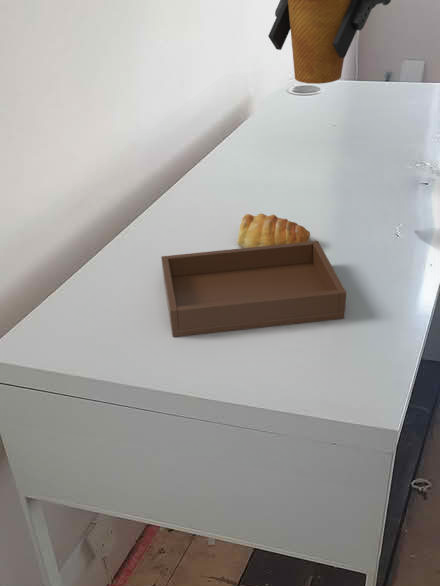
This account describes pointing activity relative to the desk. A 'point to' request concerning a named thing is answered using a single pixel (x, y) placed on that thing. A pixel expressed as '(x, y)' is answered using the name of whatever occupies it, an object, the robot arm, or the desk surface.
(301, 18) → the disposable coffee cup
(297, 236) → the pastry
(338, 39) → the robot arm
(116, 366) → the desk surface
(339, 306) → the serving tray
